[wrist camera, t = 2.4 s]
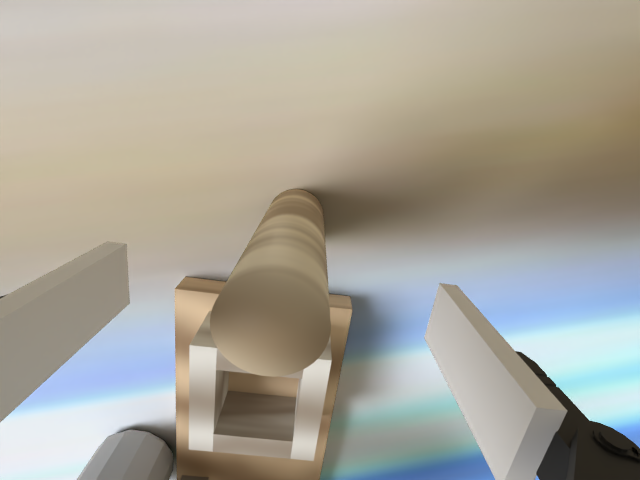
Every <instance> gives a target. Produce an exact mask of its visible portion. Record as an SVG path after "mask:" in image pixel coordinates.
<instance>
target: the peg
mask: <svg viewBox="0 0 640 480" xmlns="http://www.w3.org/2000/svg"><path fill="white" fill-rule="evenodd" d="M210 330H211V335H212V337H213V340H214V342H215V344H216V346H217V348H218V349H219V351H220V352H221V353H222V355H223V356H224V357H225V358H226V359H227V360H229V361H230V362H231V363H232V364H234V365H235V366H237V367H238V368H240V369H242V370H244V371H247V372H249V373H252V374H256V375H261V376H271V377H276V376H285V375H290V374H293V373H296V372H299V371H301V370H303V369H305V368H307V367H308V366H310V365H311V364H313V363H314V362H315V361H316V360H317V359H318V358H319V357H320V356H321V354H322V353H323V352H324V350H325V348H326V346H327V344H328V342H329V338H330V333H331V321H330V306H329V290H328V275H327V260H326V245H325V230H324V215H323V209H322V206H321V204H320V202H319V201H318V199H317V198H316V197H315V196H314V195H312V194H311V193H309V192H307V191H304V190H301V189H291V190H287V191H284V192H282V193H280V194H279V195H278V196H277V197H276V198H275V199H274V200H273V202H272V203H271V205H270V207H269V209H268V210H267V212H266V214H265V216H264V217H263V219H262V221H261V223H260V224H259V226H258V228H257V230H256V231H255V233H254V235H253V237H252V238H251V240H250V242H249V243H248V245H247V247H246V249H245V250H244V252H243V254H242V256H241V257H240V259H239V261H238V263H237V264H236V266H235V268H234V270H233V271H232V273H231V275H230V277H229V278H228V280H227V282H226V284H225V285H224V287H223V289H222V291H221V292H220V294H219V296H218V298H217V299H216V301H215V303H214V305H213V308H212V311H211V315H210Z"/></svg>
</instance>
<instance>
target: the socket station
mask: <svg viewBox="0 0 640 480" xmlns="http://www.w3.org/2000/svg"><path fill="white" fill-rule="evenodd" d="M225 284H226V282H225V281H216V280H208V279H200V278H191V277H185V278H184V279H183V280H182V281H181V282H180V284H179V285H178V286H177V287H176V288H175V357H176V457H177V480H319V479H320V474H321V469H322V464H323V459H324V454H325V448H326V443H327V438H328V433H329V428H330V423H331V418H332V413H333V407H334V402H335V397H336V392H337V387H338V382H339V377H340V371H341V366H342V361H343V356H344V351H345V346H346V341H347V335H348V330H349V325H350V320H351V315H352V304H351V299H350V296H343V295H334V294H329V306H330V321H331V333H330V338H329V342H328V344H327V346H326V348H325V350H324V352H323V353H322V354H321V356H320V357H319V358H318V359H317V360H316V361H315V362H314V363H313V364H311V365H310V366H308V367H307V368H305V369H303V370H301V371H299V372H296V373H293V374H290V375H285V376H276V377H271V376H261V375H256V374H252V373H249V372H247V371H244V370H242V369H240V368H238V367H237V366H235V365H234V364H232V363H231V362H230V361H229V360H227V359H226V358H225V357H224V356H223V355H222V353H221V352H220V351H219V349H218V348H217V346H216V344H215V342H214V340H213V337H212V335H211V330H210V315H211V311H212V308H213V305H214V303H215V301H216V299H217V298H218V296H219V294H220V292H221V291H222V289H223V287H224V285H225Z"/></svg>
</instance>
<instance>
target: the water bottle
mask: <svg viewBox="0 0 640 480" xmlns="http://www.w3.org/2000/svg"><path fill="white" fill-rule="evenodd" d="M172 471H173V454H172V452H171V450H170V449H169V447H168V446H167V444H166V443H165V441H164V440H162V439H160V438H159V437H157V436H155V435H153V434H151V433H150V432H145V431H138V430H131V429H130V430H127V431H123V432H120V433H116V434H113V435H111V436H108V437H107V438H106V439H105V440H104V442H103V443H102V444H101V445H100V446H99V447H98V449H97V450H96V452H95V453H94V455H93V456H92V458H91V459H90V461H89V462H88V464H87V465H86V467H85V468H84V470H83V471H82V472H81V474H80V475H79V477H78V478H77V480H169V478H170V476H171V474H172Z"/></svg>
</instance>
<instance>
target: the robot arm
mask: <svg viewBox="0 0 640 480" xmlns="http://www.w3.org/2000/svg"><path fill="white" fill-rule="evenodd" d="M129 303H130V300H129V281H128V262H127V244H123V243H115V242H106V243H104V244H102V245H100V246H98V247H96V248H94V249H93V250H91V251H89V252H87V253H85V254H83V255H81V256H79V257H78V258H76V259H74V260H72V261H70V262H68V263H66V264H64V265H63V266H61V267H59V268H57V269H55V270H53V271H51V272H49V273H47V274H46V275H44V276H42V277H40V278H38V279H36V280H34V281H32V282H31V283H29V284H27V285H25V286H23V287H21V288H19V289H17V290H16V291H14V292H12V293H10V294H8V295H4V296H1V297H0V422H1V421H2V420H3V419H4V418H5V417H7V416H8V415H9V414H10V413H11V412H12V411H13V410H14V409H15V408H16V407H17V406H19V405H20V404H21V403H22V402H23V401H24V400H25V399H26V398H27V397H28V396H29V395H31V394H32V393H33V392H34V391H35V390H36V389H37V388H38V387H39V386H40V385H41V384H42V383H44V382H45V381H46V380H47V379H48V378H49V377H50V376H51V375H52V374H53V373H54V372H56V371H57V370H58V369H59V368H60V367H61V366H62V365H63V364H64V363H65V362H66V361H67V360H69V359H70V358H71V357H72V356H73V355H74V354H75V353H76V352H77V351H78V350H79V349H81V348H82V347H83V346H84V345H85V344H86V343H87V342H88V341H89V340H90V339H91V338H92V337H94V336H95V335H96V334H97V333H98V332H99V331H100V330H101V329H102V328H103V327H104V326H106V325H107V324H108V323H109V322H110V321H111V320H112V319H113V318H114V317H115V316H116V315H117V314H119V313H120V312H121V311H122V310H123V309H124V308H125V307H126V306H127V305H128V304H129ZM424 338H425V340H426V342H427V344H428V346H429V348H430V350H431V352H432V354H433V356H434V358H435V360H436V362H437V364H438V366H439V368H440V370H441V372H442V374H443V376H444V378H445V380H446V382H447V384H448V386H449V388H450V390H451V392H452V394H453V396H454V398H455V400H456V402H457V404H458V406H459V408H460V410H461V412H462V414H463V416H464V418H465V420H466V422H467V424H468V426H469V428H470V430H471V432H472V434H473V436H474V438H475V440H476V442H477V444H478V446H479V448H480V450H481V452H482V454H483V456H484V457H485V459H486V461H487V463H488V465H489V467H490V469H491V471H492V473H493V475H494V477H495V479H496V480H535V478H536V476H538V478H539V479H540V480H640V448H639V447H638V446H637V445H636V444H635V443H633V442H632V441H631V440H629V439H628V438H627V437H626V436H624V435H623V434H621V433H619V432H618V431H616V430H614V429H613V428H611V427H608V426H606V425H603V424H601V423H598V422H592V421H589V420H588V419H587V418H586V417H585V415H584V414H583V413H582V412H581V411H580V410H579V409H578V408H577V407H576V406H575V405H574V404H573V402H572V401H571V400H570V399H569V398H568V397H567V396H566V395H565V394H564V393H563V392H562V391H561V390H560V388H559V387H556V384H555V383H554V382H553V381H552V380H551V379H550V378H549V377H547V374H546V373H545V372H544V371H543V370H542V369H541V368H540V367H539V366H538V365H537V364H536V363H535V362H534V361H532V360H531V359H530V358H528V357H527V356H525V355H524V354H523V353H521V352H516V351H514V350H513V348H512V347H511V346H510V345H509V344H508V343H507V342H506V341H505V339H504V338H503V337H502V336H501V335H500V334H499V333H498V331H497V330H496V329H495V328H494V327H493V326H492V325H491V323H490V322H489V321H488V320H487V319H486V318H485V317H484V316H483V314H482V313H481V312H480V311H479V310H478V309H477V308H476V306H475V305H474V304H473V303H472V302H471V301H470V300H469V299H468V297H467V296H466V295H465V294H464V293H463V292H462V291H461V289H460V288H459V287H458V286H457V285H450V284H442V283H439V287H438V290H437V294H436V298H435V301H434V305H433V308H432V312H431V316H430V319H429V323H428V326H427V330H426V334H425V337H424Z"/></svg>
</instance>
